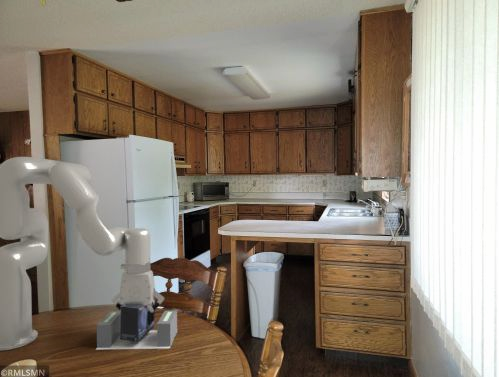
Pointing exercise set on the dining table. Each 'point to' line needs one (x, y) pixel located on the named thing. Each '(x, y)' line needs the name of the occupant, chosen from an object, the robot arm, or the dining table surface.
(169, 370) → the dining table surface
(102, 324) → the block
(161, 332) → the block
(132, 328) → the small box
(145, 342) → the rail board
